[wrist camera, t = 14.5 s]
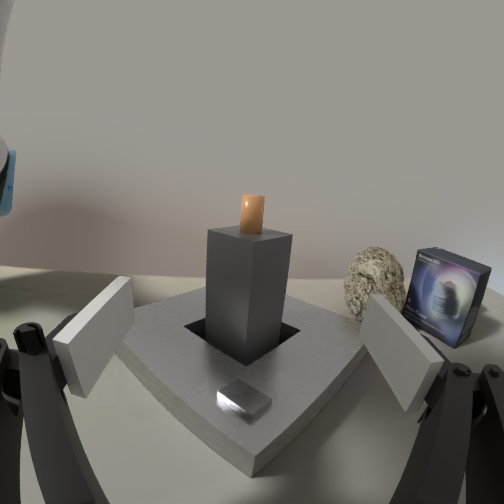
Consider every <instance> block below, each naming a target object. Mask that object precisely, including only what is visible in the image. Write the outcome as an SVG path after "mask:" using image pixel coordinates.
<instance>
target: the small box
mask: <svg viewBox="0 0 504 504" xmlns="http://www.w3.org/2000/svg"><path fill="white" fill-rule="evenodd" d="M490 273H491V267H488V266H486V265H483V264H480V263H478V262H475V261H473V260H470V259H467V258H465V257H462V256H459V255H456V254H454V253H451V252H448V251H445V250H443V249H440V248H437V247H434V248H426V249H418V250H417V255H416V260H415V265H414V269H413V273H412V278H411V282H410V286H409V290H408V293H407V297H406V301H405V304H404V308H403V311H402V314H401V315H402V316H403V317H404V318H405V319H406V320H407V321H408V322H410V323H412V324H414V325H415V326H417V327H419V328H420V329H422V330H424V331H425V332H427V333H429V334H431V335H432V336H434V337H436V338H437V339H439V340H441V341H442V342H444V343H446V344H447V345H449V346H450V347H452V348H454V349H455V348H456V347H457V346H459V345H460V344H461V343H462V342H463V341H465V340H466V339H467V338H468V337H469V336H470V334H471V330H472V327H473V324H474V322H475V320H476V317H477V314H478V311H479V308H480V305H481V302H482V299H483V296H484V293H485V289H486V286H487V282H488V279H489V276H490Z"/></svg>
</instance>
